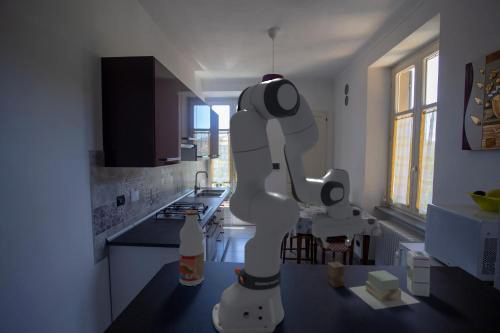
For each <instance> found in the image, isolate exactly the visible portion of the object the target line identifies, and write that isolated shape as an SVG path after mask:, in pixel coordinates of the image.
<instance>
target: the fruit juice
mask: <svg viewBox="0 0 500 333" xmlns="http://www.w3.org/2000/svg"><path fill="white" fill-rule="evenodd" d="M184 212H185V213H184V215H185V221H184V224H183V226H182V228H180V231H179V239H180V244H179V253H178V254H179V256H178V257H179V283H181V284H183V285H187V286H192V285H197V284H200V283H201V282H202V281H203V280H205V244H204V242H203V239H204V229H203V228H202V226H201V225H200V223H199V221H198V215H199V212H198V210H196V209H195V210H194V209H192V210H191V209H190V210H185V211H184ZM203 282H204V281H203ZM203 282H202V283H203ZM202 283H201V284H202ZM181 284H180V285H181ZM201 284H200V285H201ZM183 285H182V286H183Z"/></svg>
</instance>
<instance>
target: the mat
mask: <svg viewBox="0 0 500 333" xmlns="http://www.w3.org/2000/svg"><path fill="white" fill-rule="evenodd" d="M348 289H349V290H350V291H352V292H353V293H354V294H355V296H358V298H360V299H361V300H362V301H364V302H365V303H366V305H369V307H371V308H372V309H373V310H380V309H387V308H394V307H401V306H405V305H412V304H413V305H414V304H418V303H419V304H420V303H421V301H419V300H417V299H416V298H414V297H413V296H411V295H410V294H408V293H406V292H405V291H403V289H401V299H400V300H393V301H387V302H380V301H379V300H378V299H376V298H375V297H374V296H372V295H371V294H370V293H368V292H367V291H366V285H361V286H354V287H349V288H348Z"/></svg>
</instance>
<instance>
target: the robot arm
mask: <svg viewBox="0 0 500 333" xmlns="http://www.w3.org/2000/svg"><path fill="white" fill-rule="evenodd" d="M237 99H238V100H237V109H236V112H235V113H234V114H232V115H231V117H230V119H229V137H230V147H231V152H232V155H233V156H232V157H233V162H234V167H235V172H236V173H235V174H236V186H235V190H234V192H233V193H232V194H231V196H230V199H229V201H228V202H229V203H228V208H229V211H230V213H231V214H232V215H233V217H235V218H237V219H238V220H240V221H241V222H243V223H246V224H247V223H248V224H251V225H254V226H255V232H254V235H253V237H251V238H250V239H248V240H247V241H246V242H245V244H244V247H243V248H244V250H243V251H244V254H243V256H244V260H243V261H244V264H243V268H242V269H241V268H240V267H239V266H236V267H235V268H234V270H233V271H234V274H235V275H236V276H237V280H236V281H235V282H234V283H233V284H232V285H230V286H229V287H227V288H226V289H224V291H223V292H222V294H221V297H220V299H219V300H220V301H219V303H216V304H215V305H214V306H213V309H212V312H211V313H212V316H211V318H212V324H213V325H214V328H215V329H216V330H217V332H219V333H273V332H274V331H275V330H276V327H277V326H278V325H279V324H280V323H281V322H282V321H283V320H284V317H285V310H284V307H283V304H282V297H281V285H282V272H281V268H280V266H281V265H280V259H281V247H282V242H283V240H284V238H285V236H286V234H287V233H289V232H290V231H292V230H293V229H295V227H296V226H297V225H298V222H299V220H300V216H301V210H300V205H299V203H302V204H311V205H316V206H322V207H325V211H321V212H319V211H317V212H315V213H314V214H313V215H312V217H311V220H312V221H311V223H312V224H311V234H312V236H314V237H315V238H317V239H319V238H320V239H321V242H322V244H323V248H324V249H328V248H330V243H329V242H327V239H328V237H330V238H331V237H339V236H348V237H347V238H346V239H345V241H344V245H345V246H347V247H349V246H352V242H353V239H354V238H355V235H360V234H362V233H363V230H364V222H363V220H364V219H363V217H362V215H363V212H362V210H361V209H359V208H356V207H353V206H351V204H350V203H351V202H350V199H349V198H350V194H351V183H350V182H351V181H350V175H349V172H348V171H347V170H345V169H341V168H340V169H339V168H328V169H327V171H326V174H325V175H324V176H322V177H321V178H314V177H310V176H308V175H306V173H305V172H306V171H305V168H304V164H303V159H302V156H303V155H304V154H306V153H308V152H309V151H311V150H312V149H313V148H315V146H316V145H317V143H318V141H319V138H320V133H319V132H320V131H319V128H318V125H317V121H316V119H315V116H314V113H313V111H312V109H311V107H310V104H309V103H308V102H307V100H306V98H305V96H304V95H303V94H302V93H300V92H299V90H298V88H297V87H296V85H295V84H294V83H293V82H292V81H290V80H289V79H286V78H275V79H274V78H273V79H272V80H266V81H261V82H257V83H255V84H253V85H250V86H247V87H246V88H244V89H243V90H242V91H241V92H240V94H239V96H238V98H237ZM274 119H276V120H277V121H278V123H279V125H280V129H281V131H282V134H283V138H284V140H285V141H284V142H285V144H284V146H283V155H284V156H283V157H284V161H285V163H286V167H287V168H286V169H287V172H288V176H289V179H290V184H291V185H290V186H291V195H292V197H291V196H289V195H286V194H284V193H281V192H275V191H270V190H269V191H268V190H267V189H266V187H265V186H266V184H265V182H266V179H267V178H268V177H270V175H271V174H272V173H273V170H274V164H273V160H272V153H271V148H270V142H269V137H268V131H267V126H268V122H269V121H270V120H274Z"/></svg>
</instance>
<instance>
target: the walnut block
mask: <svg viewBox="0 0 500 333" xmlns="http://www.w3.org/2000/svg"><path fill="white" fill-rule="evenodd" d="M345 267H346V266H345V265H344V264H342V263H341V262H339V261H331V262H327V274H326V275H327V280H326V282H327V283H328V284H329V285H330V286H332V287H333V288H339V287H345Z"/></svg>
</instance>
